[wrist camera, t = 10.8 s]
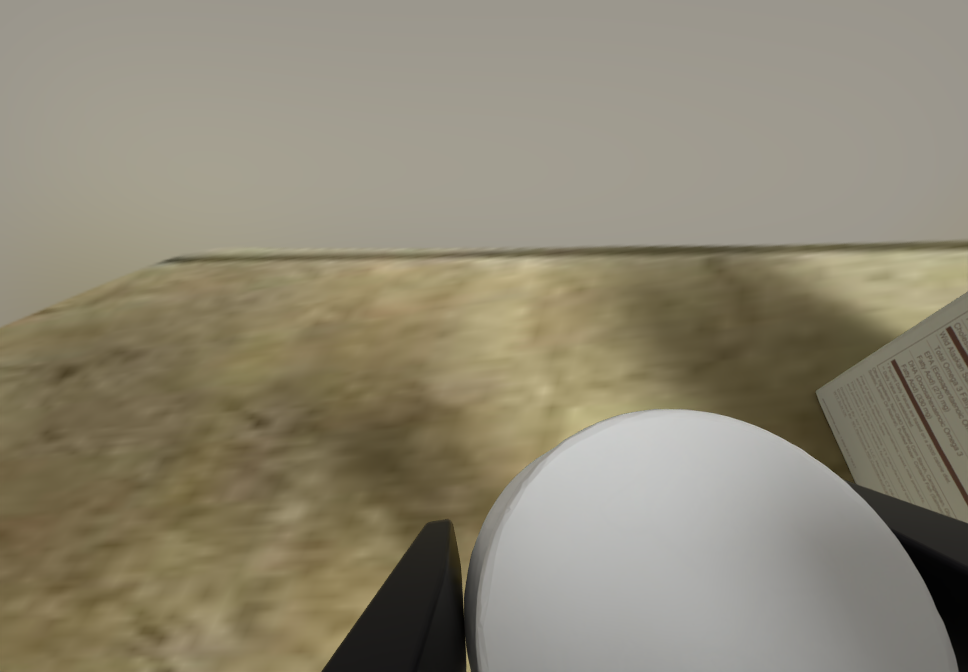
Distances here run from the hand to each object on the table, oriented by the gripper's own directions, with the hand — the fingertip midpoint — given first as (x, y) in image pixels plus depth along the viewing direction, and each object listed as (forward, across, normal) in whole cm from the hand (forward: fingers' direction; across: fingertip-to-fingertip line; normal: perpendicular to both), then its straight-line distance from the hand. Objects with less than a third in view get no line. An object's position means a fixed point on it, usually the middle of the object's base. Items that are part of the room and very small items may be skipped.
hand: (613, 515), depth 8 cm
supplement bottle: (+4, 0, +6) cm, 7 cm away
